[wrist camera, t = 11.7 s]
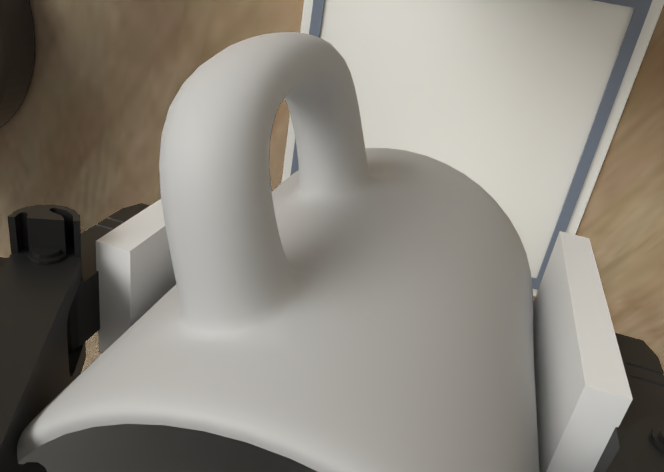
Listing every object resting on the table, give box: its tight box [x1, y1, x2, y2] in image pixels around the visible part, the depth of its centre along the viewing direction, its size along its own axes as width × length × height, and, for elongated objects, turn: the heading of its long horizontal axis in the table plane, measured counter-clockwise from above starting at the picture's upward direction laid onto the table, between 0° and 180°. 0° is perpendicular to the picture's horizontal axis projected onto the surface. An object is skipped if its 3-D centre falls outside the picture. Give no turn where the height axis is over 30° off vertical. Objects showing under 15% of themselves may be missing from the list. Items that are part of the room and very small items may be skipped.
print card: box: [281, 0, 664, 296], centre depth 28 cm, size 15×15×1 cm
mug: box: [17, 32, 540, 472], centre depth 12 cm, size 12×8×11 cm
